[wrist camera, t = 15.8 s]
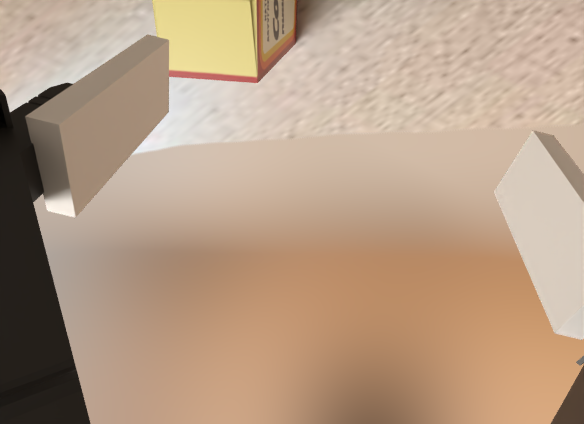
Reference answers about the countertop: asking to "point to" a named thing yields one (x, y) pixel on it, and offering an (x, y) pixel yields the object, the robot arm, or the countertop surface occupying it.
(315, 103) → the countertop surface
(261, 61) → the baking soda box
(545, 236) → the robot arm
